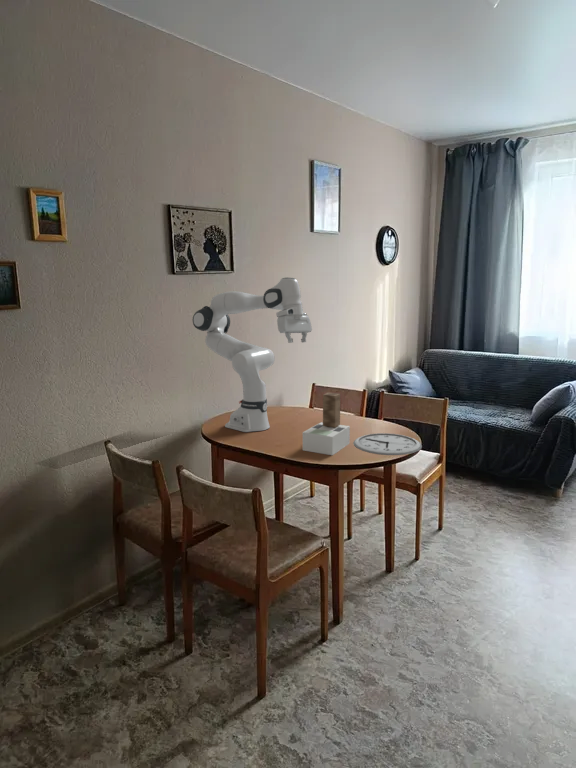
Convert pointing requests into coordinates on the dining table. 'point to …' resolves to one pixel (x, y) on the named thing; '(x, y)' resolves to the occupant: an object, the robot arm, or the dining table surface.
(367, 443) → the wall clock
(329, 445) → the box
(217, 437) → the dining table surface
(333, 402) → the walnut post
